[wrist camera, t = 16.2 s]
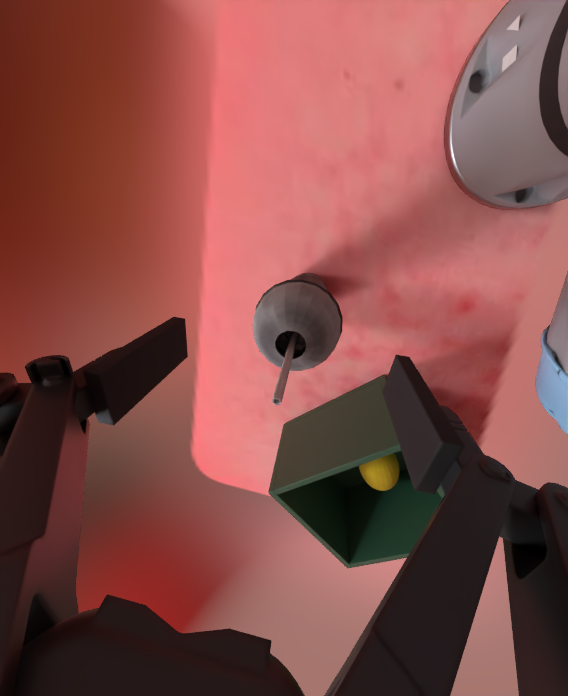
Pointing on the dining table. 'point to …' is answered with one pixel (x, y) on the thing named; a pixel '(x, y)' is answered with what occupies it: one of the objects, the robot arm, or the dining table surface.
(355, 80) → the dining table surface
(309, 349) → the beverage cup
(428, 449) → the robot arm
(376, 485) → the lemon
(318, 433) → the green open box
